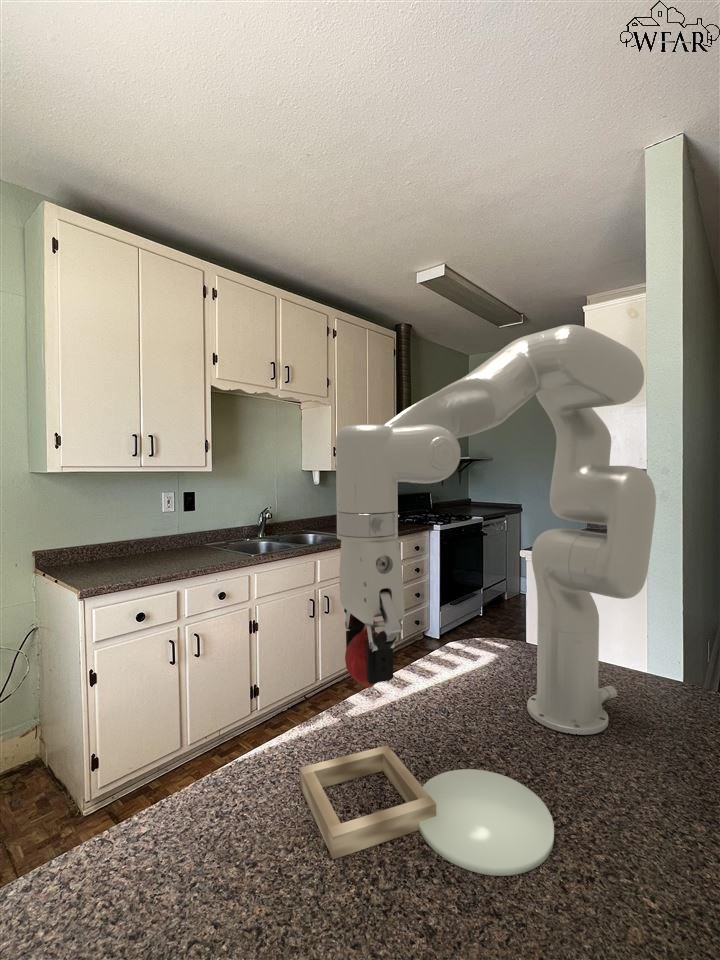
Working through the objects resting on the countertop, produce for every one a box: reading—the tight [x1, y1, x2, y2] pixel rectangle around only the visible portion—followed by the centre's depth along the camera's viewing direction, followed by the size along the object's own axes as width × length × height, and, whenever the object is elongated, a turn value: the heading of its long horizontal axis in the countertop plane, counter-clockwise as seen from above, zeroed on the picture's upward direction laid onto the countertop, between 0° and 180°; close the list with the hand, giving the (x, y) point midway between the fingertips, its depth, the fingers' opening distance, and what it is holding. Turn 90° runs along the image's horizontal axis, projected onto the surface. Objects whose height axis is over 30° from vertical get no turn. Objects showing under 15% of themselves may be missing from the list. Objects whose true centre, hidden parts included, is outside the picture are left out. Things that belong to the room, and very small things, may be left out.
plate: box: [418, 768, 555, 877], centre depth 58 cm, size 16×16×1 cm
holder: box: [299, 744, 436, 860], centre depth 61 cm, size 13×13×2 cm
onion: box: [344, 624, 380, 689], centre depth 60 cm, size 6×6×8 cm
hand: (368, 668), depth 60 cm, fingers closed on onion, 5 cm apart
